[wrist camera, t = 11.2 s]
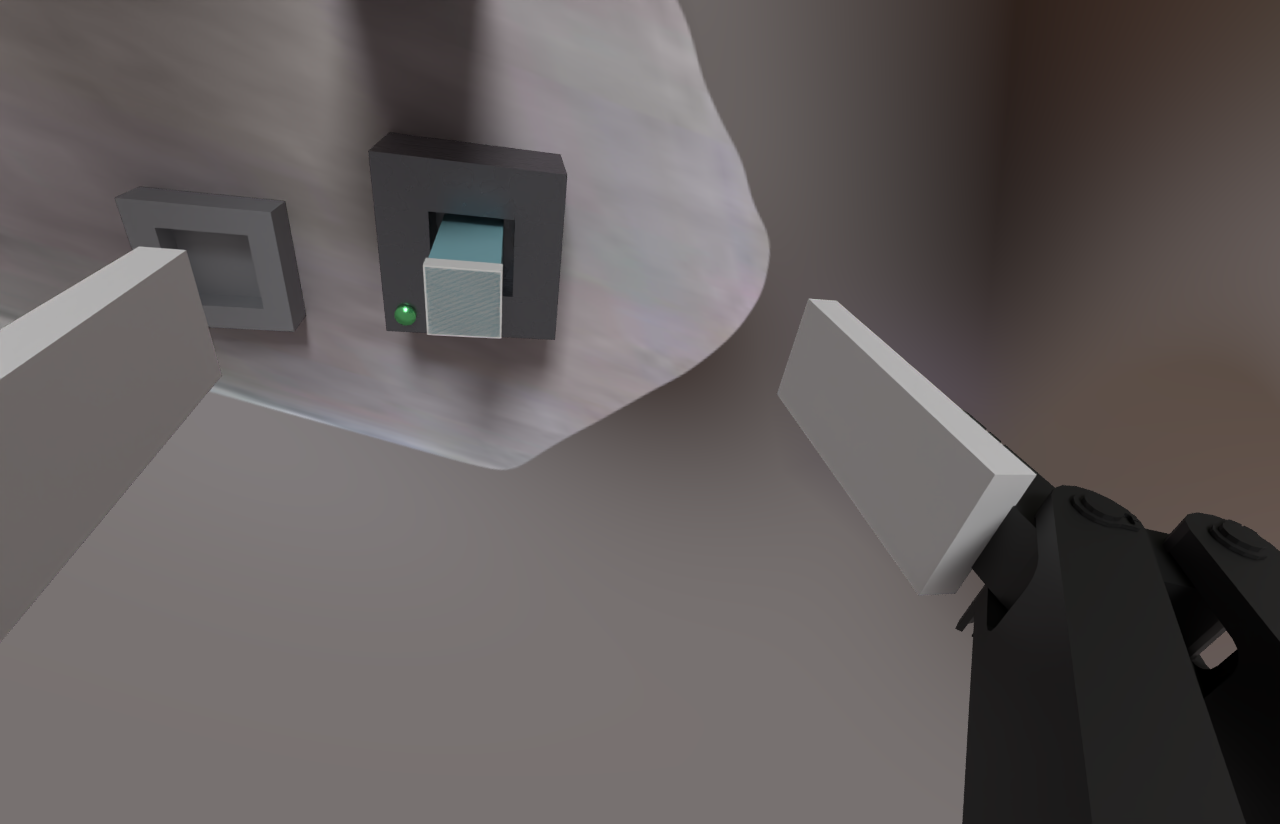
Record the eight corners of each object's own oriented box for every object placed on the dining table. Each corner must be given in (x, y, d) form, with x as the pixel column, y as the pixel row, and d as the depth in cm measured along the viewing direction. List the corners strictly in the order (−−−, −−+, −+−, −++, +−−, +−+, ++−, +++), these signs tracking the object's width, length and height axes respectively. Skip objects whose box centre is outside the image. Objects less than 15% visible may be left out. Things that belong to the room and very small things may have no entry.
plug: (444, 206, 41) (422, 265, 31) (505, 212, 42) (502, 271, 32) (447, 263, 43) (427, 334, 33) (504, 268, 44) (501, 338, 34)
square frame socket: (139, 186, 39) (114, 197, 37) (285, 201, 41) (270, 212, 39) (177, 307, 44) (157, 324, 42) (305, 315, 46) (294, 331, 44)
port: (389, 132, 40) (366, 152, 34) (560, 154, 43) (567, 176, 37) (402, 293, 46) (385, 333, 40) (550, 302, 49) (555, 342, 43)
